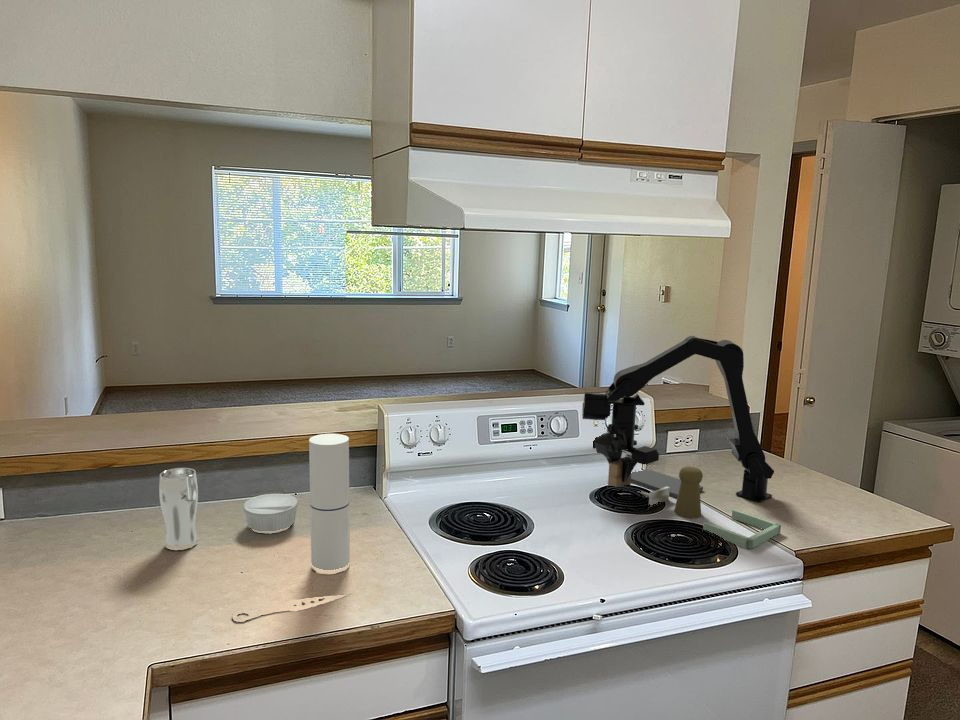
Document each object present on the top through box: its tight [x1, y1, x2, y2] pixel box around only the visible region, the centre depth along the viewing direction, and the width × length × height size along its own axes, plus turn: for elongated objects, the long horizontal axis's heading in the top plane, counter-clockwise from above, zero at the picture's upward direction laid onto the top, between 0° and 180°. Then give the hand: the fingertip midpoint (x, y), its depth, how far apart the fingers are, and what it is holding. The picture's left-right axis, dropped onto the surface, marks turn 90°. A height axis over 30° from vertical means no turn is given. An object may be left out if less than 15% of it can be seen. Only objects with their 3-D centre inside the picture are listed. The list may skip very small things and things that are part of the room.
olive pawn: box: [673, 466, 704, 519], centre depth 162 cm, size 6×6×11 cm
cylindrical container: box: [308, 433, 351, 570], centre depth 130 cm, size 7×7×25 cm
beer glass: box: [158, 467, 199, 546], centre depth 138 cm, size 7×7×15 cm
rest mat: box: [631, 467, 704, 499], centre depth 181 cm, size 10×18×1 cm, turn 41°
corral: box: [702, 508, 782, 550], centre depth 153 cm, size 13×11×2 cm
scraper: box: [607, 460, 670, 505], centre depth 173 cm, size 7×14×7 cm, turn 41°
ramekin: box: [242, 493, 299, 531], centre depth 149 cm, size 11×11×5 cm
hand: (619, 480), depth 177 cm, fingers closed on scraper, 2 cm apart
